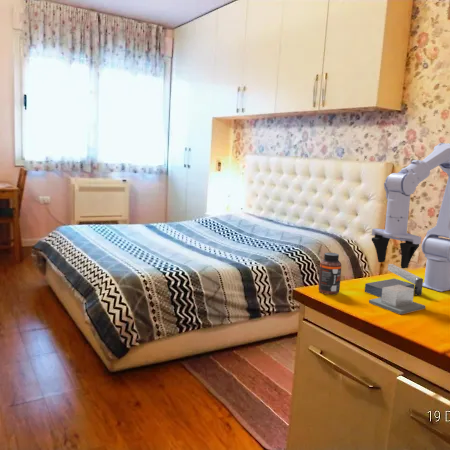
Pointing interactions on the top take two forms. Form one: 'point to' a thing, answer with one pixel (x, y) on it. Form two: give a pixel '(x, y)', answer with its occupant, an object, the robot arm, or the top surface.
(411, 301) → the grey rectangular block
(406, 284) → the grey piece
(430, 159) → the robot arm
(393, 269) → the steel lever
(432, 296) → the top surface
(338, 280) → the supplement bottle
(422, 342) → the top surface
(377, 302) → the rubber mat
